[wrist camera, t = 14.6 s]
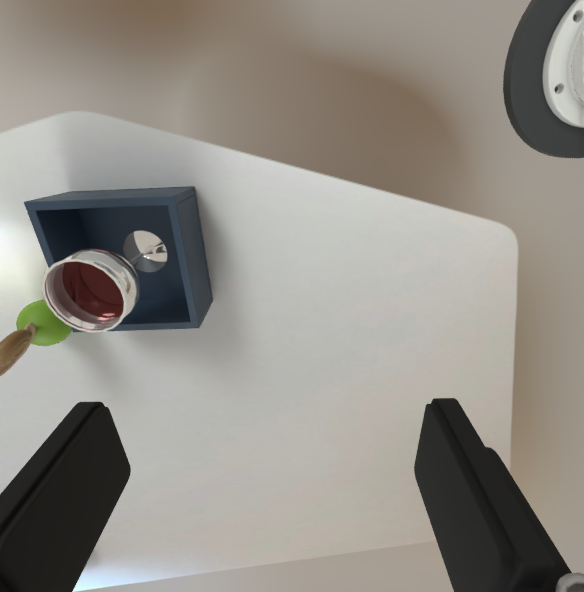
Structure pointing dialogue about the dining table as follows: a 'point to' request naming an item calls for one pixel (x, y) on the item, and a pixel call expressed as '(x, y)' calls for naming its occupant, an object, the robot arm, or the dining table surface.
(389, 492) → the dining table surface
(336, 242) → the dining table surface
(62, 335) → the snail on green ball
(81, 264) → the wineglass
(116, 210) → the box
